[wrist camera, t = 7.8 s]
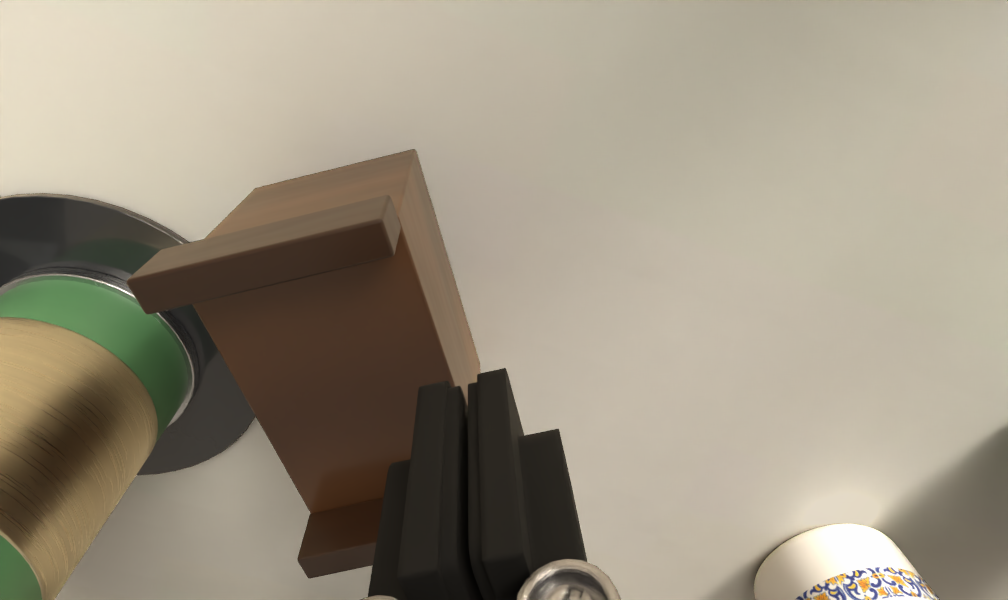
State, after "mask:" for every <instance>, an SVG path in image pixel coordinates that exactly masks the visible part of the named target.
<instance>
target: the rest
mask: <svg viewBox="0 0 1008 600" xmlns="http://www.w3.org/2000/svg"><path fill="white" fill-rule="evenodd" d="M126 283H127V285H128V287H129V288H130V290H131V292H132V293H133V295H134V297H135V298H136V300H137V301H138V303H139V305H140V306H141V308H142V309H143V311H144V313H145V314H148V315H149V314H154V313H158V312H162V311H166V310H170V309H175V308H179V307H183V306H187V305H191V304H192V305H193V306H194V308H195V310H196V312H197V313H198V315H199V317H200V319H201V320H202V322H203V324H204V326H205V327H206V329H207V331H208V333H209V335H210V336H211V338H212V340H213V342H214V343H215V345H216V347H217V349H218V350H219V352H220V354H221V356H222V357H223V359H224V361H225V363H226V365H227V366H228V368H229V370H230V372H231V373H232V375H233V377H234V379H235V380H236V382H237V384H238V386H239V388H240V389H241V391H242V393H243V395H244V396H245V398H246V400H247V402H248V403H249V405H250V407H251V409H252V410H253V412H254V414H255V416H256V418H257V419H258V421H259V423H260V425H261V426H262V428H263V430H264V432H265V433H266V435H267V437H268V439H269V440H270V442H271V444H272V446H273V448H274V449H275V451H276V453H277V455H278V456H279V458H280V460H281V462H282V463H283V465H284V467H285V469H286V470H287V472H288V474H289V476H290V478H291V479H292V481H293V483H294V485H295V486H296V488H297V490H298V492H299V493H300V495H301V497H302V499H303V500H304V502H305V504H306V506H307V508H308V509H309V511H310V513H311V514H310V516H309V520H308V523H307V527H306V530H305V534H304V537H303V541H302V545H301V548H300V552H299V555H298V562H299V564H300V566H301V567H302V569H303V570H304V572H305V574H306V575H307V577H308V578H314V577H319V576H324V575H328V574H333V573H338V572H342V571H347V570H352V569H356V568H361V567H366V566H371V565H373V561H374V555H375V548H376V542H377V536H378V529H379V523H380V517H381V510H382V504H383V498H384V491H385V485H386V479H387V473H388V469H389V466H390V465H391V463H395V462H399V461H404V460H409V459H410V458H411V449H412V441H413V432H414V423H415V414H416V406H417V397H418V390H419V387H420V386H424V385H429V384H433V383H438V382H443V381H449V383H450V385H451V387H456V386H461V388H462V391H463V393H464V397H465V400H466V403H467V406H468V384H470V383H475V382H477V375H478V374H480V373H481V372H480V362H479V358H478V355H477V352H476V348H475V345H474V342H473V338H472V335H471V332H470V328H469V325H468V322H467V319H466V315H465V312H464V309H463V305H462V302H461V299H460V295H459V292H458V289H457V285H456V282H455V279H454V275H453V272H452V269H451V265H450V262H449V259H448V255H447V252H446V249H445V245H444V242H443V239H442V235H441V232H440V229H439V225H438V222H437V219H436V215H435V212H434V209H433V206H432V202H431V199H430V196H429V192H428V189H427V186H426V182H425V179H424V176H423V172H422V169H421V166H420V162H419V159H418V156H417V152H416V150H415V149H412V150H408V151H404V152H400V153H396V154H392V155H388V156H384V157H380V158H376V159H372V160H368V161H363V162H359V163H355V164H351V165H347V166H343V167H339V168H335V169H331V170H327V171H323V172H319V173H315V174H311V175H307V176H303V177H299V178H294V179H290V180H286V181H282V182H278V183H274V184H270V185H266V186H262V187H258V188H255V189H254V190H253V191H252V192H251V193H250V194H249V195H248V196H247V197H246V198H245V199H244V200H243V201H242V202H241V203H240V204H239V205H238V206H237V207H236V208H235V209H234V210H233V211H232V212H231V213H230V214H229V215H228V216H227V217H226V218H225V219H224V220H223V221H222V222H221V223H220V224H219V225H218V226H217V227H216V228H215V229H214V230H213V231H212V232H211V233H210V234H209V235H208V236H207V237H206V238H205V239H203V240H199V241H195V242H191V243H186V244H182V245H178V246H174V247H170V248H166V249H162V250H160V251H159V252H158V253H157V254H156V255H154V256H153V257H152V258H151V259H150V260H149V261H148V262H147V263H145V264H144V265H143V266H142V267H141V268H140V269H139V270H138V271H136V272H135V273H134V274H133V275H132V276H131V277H130V278H128V279H127V281H126Z"/></svg>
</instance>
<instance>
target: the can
mask: <svg viewBox="0 0 1008 600" xmlns="http://www.w3.org/2000/svg"><path fill="white" fill-rule="evenodd" d="M198 382H199V363H198V357H197V354H196V350H195V347H194V345H193V343H192V341H191V339H190V337H189V335H188V334H187V332H186V330H185V329H184V327H183V326H182V325H181V323H180V322H179V321H178V320H177V318H176V317H175V316H174V315H173V314H172V313H171V312H170V311H169V310H166V311H162V312H158V313H154V314H149V315H148V314H145V313H144V311H143V309H142V308H141V306H140V305H139V303H138V301H137V300H136V298H135V297H134V295H133V293H132V292H131V290H130V288H129V287H128V285H127V283H126V282H125V281H123V280H120V279H118V278H115V277H113V276H110V275H106V274H103V273H100V272H96V271H91V270H85V269H78V268H48V269H41V270H35V271H32V272H28V273H25V274H22V275H20V276H18V277H16V278H13V279H12V280H10V281H9V282H7V283H6V284H4V285H3V286H1V287H0V600H54V599H55V598H56V596H57V595H58V593H59V592H60V590H61V589H62V587H63V586H64V584H65V583H66V581H67V580H68V578H69V577H70V575H71V574H72V572H73V570H74V569H75V567H76V566H77V564H78V563H79V561H80V560H81V558H82V557H83V555H84V554H85V552H86V551H87V549H88V548H89V546H90V545H91V543H92V542H93V540H94V539H95V537H96V536H97V534H98V533H99V531H100V529H101V528H102V526H103V525H104V523H105V522H106V520H107V519H108V517H109V516H110V514H111V513H112V511H113V510H114V508H115V507H116V505H117V504H118V502H119V501H120V499H121V498H122V496H123V495H124V493H125V492H126V490H127V488H128V487H129V485H130V484H131V482H132V481H133V479H134V478H135V476H136V475H137V473H138V472H139V470H140V469H141V467H142V466H143V464H144V463H145V461H146V460H147V458H148V457H149V455H150V453H151V452H152V450H153V448H154V446H155V444H156V443H157V441H158V440H159V438H160V437H161V435H162V434H163V432H164V431H165V429H166V428H167V427H168V426H170V425H171V424H172V423H173V422H175V421H176V420H177V419H178V418H179V417H180V416H181V415H182V414H183V413H184V411H185V410H186V408H187V407H188V405H189V404H190V402H191V400H192V399H193V397H194V395H195V392H196V390H197V386H198Z"/></svg>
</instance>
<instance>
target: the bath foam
mask: <svg viewBox="0 0 1008 600" xmlns="http://www.w3.org/2000/svg"><path fill="white" fill-rule="evenodd" d="M754 595H755V599H756V600H940V599H939V598H938V597H937V595H936V594H935V593H934V592H933V590H932V589H931V588H930V587H929V585H928V584H927V583H926V581H925V580H924V579H923V578H922V577H921V576H920V575H919V573H918V572H917V571H916V569H915V568H914V567H913V566H912V564H911V563H910V562H909V561H908V559H907V558H906V557H905V555H904V554H903V553H902V552H901V550H900V549H899V548H898V547H897V546H896V544H895V543H894V542H893V541H892V540H891V539H890V538H889V537H888V536H886V535H885V534H883V533H882V532H880V531H878V530H876V529H873V528H870V527H867V526H863V525H857V524H835V525H828V526H823V527H819V528H815V529H812V530H809V531H806V532H804V533H801V534H799V535H797V536H795V537H793V538H791V539H789V540H788V541H786V542H785V543H783V544H782V545H780V546H779V547H778V548H776V549H775V550H774V551H773V552H772V553H771V554H770V555H769V556H768V557H767V558H766V559H765V561H764V562H763V563H762V565H761V566H760V568H759V570H758V572H757V575H756V578H755V582H754Z"/></svg>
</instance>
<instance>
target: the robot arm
mask: <svg viewBox="0 0 1008 600" xmlns="http://www.w3.org/2000/svg"><path fill="white" fill-rule="evenodd" d="M361 600H621V598H620V596H619V594H618V591H617V589H616V587H615V586H614V584H613V583H612V581H611V579H610V578H609V576H608V575H606V574H605V573H604V572H603V571H602V570H601V569H599V568H598V567H597V566H595V565H592V564H590V563H588V562H587V558H586V553H585V548H584V544H583V539H582V534H581V529H580V524H579V519H578V515H577V510H576V505H575V500H574V495H573V491H572V486H571V481H570V477H569V472H568V468H567V463H566V459H565V454H564V450H563V445H562V441H561V437H560V432H559V429H555V430H550V431H545V432H540V433H535V434H530V435H526V436H524V433H523V429H522V425H521V422H520V418H519V414H518V411H517V407H516V403H515V399H514V396H513V392H512V388H511V385H510V381H509V377H508V374H507V371H506V369H505V368H504V369H499V370H494V371H490V372H485V373H480V374H478V375H477V382H475V383H470V384H468V406H467V403H466V400H465V397H464V393H463V391H462V388H461V386H456V387H451V385H450V383H449V381H443V382H438V383H433V384H429V385H424V386H420V387H419V390H418V397H417V406H416V414H415V423H414V432H413V441H412V449H411V458H410V459H409V460H404V461H399V462H395V463H391V465H390V466H389V469H388V473H387V479H386V485H385V491H384V498H383V504H382V510H381V517H380V523H379V529H378V536H377V542H376V548H375V555H374V561H373V567H372V574H371V580H370V586H369V593H368V597H366V598H363V599H361Z"/></svg>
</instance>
